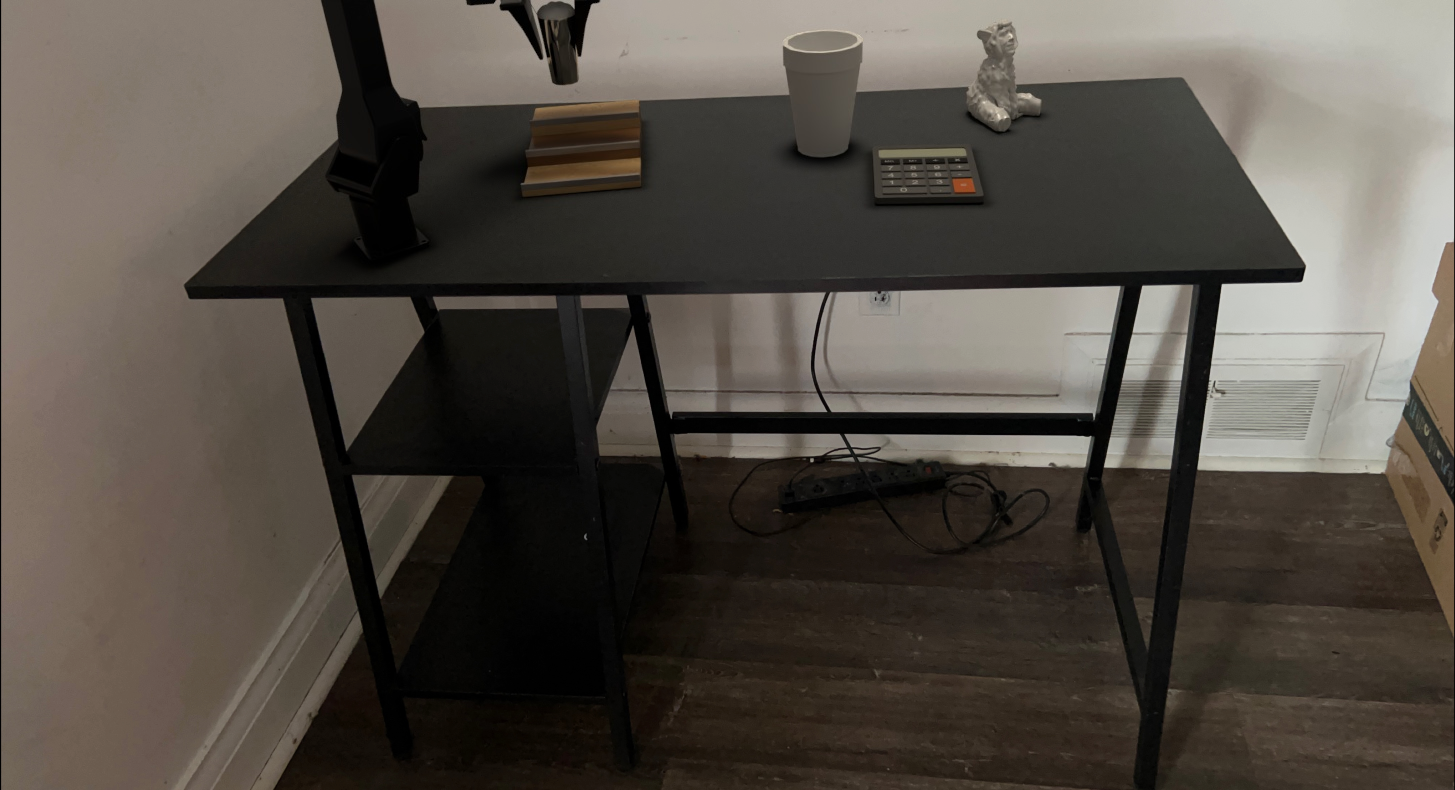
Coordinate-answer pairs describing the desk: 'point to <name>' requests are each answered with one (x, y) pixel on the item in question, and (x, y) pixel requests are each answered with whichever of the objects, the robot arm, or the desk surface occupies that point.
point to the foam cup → (822, 88)
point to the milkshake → (559, 41)
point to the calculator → (925, 174)
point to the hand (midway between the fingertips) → (561, 57)
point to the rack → (584, 148)
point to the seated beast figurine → (999, 81)
